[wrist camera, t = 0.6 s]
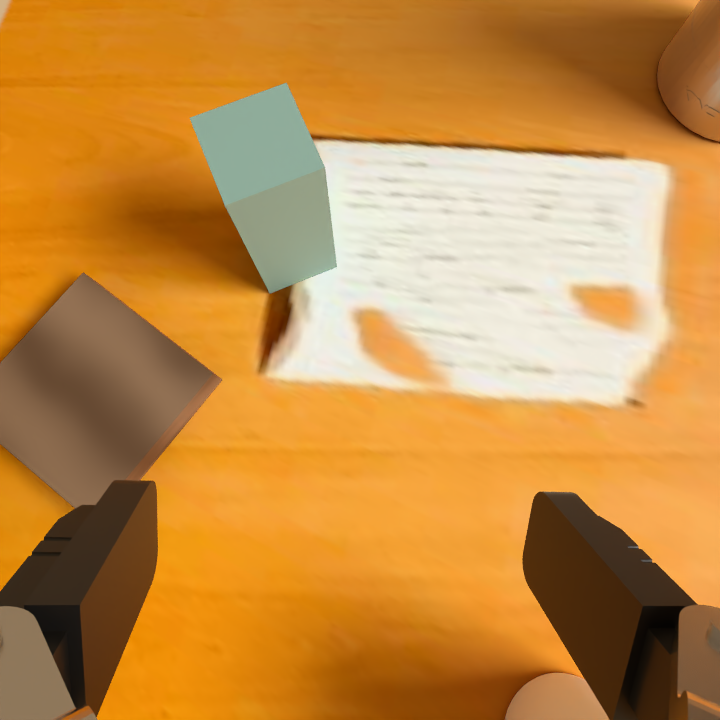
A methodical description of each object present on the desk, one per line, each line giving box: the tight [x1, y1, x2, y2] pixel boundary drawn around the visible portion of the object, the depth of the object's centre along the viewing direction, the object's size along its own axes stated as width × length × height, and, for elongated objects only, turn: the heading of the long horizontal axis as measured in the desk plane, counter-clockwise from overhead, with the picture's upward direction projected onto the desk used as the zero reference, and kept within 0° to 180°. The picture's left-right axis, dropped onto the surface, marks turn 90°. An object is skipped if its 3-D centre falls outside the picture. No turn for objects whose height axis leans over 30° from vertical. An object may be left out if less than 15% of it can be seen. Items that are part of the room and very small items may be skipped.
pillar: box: [190, 83, 337, 293], centre depth 28 cm, size 4×4×11 cm
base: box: [0, 273, 222, 509], centre depth 30 cm, size 10×10×2 cm
